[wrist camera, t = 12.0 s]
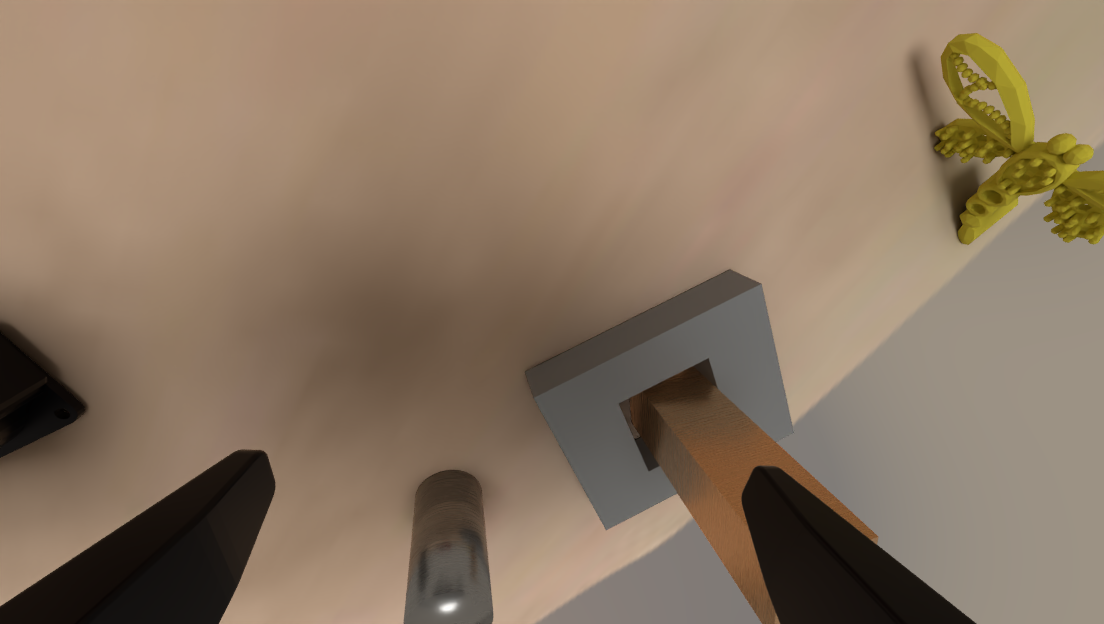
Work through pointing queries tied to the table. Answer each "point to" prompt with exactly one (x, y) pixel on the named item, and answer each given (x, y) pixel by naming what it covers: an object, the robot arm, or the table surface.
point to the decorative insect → (1015, 149)
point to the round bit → (449, 554)
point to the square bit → (719, 469)
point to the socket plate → (645, 360)
